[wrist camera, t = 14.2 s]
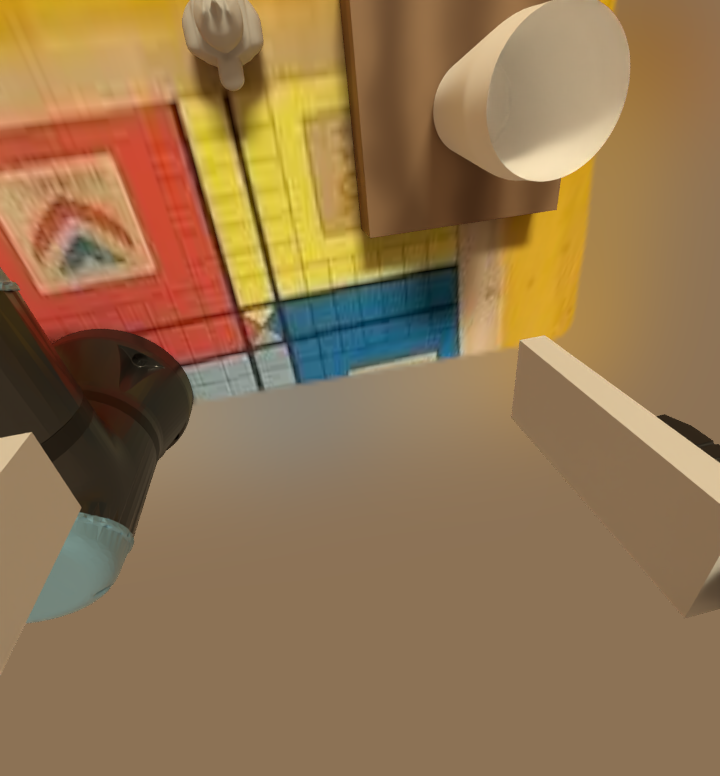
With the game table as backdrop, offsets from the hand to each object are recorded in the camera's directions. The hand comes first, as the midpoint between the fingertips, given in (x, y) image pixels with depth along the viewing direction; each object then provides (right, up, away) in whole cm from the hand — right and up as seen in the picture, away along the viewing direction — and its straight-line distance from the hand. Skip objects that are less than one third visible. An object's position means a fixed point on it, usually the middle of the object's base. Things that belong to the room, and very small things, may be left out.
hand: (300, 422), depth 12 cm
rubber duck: (-9, +28, +21) cm, 35 cm away
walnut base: (+10, +26, +26) cm, 37 cm away
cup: (+11, +24, +22) cm, 34 cm away
